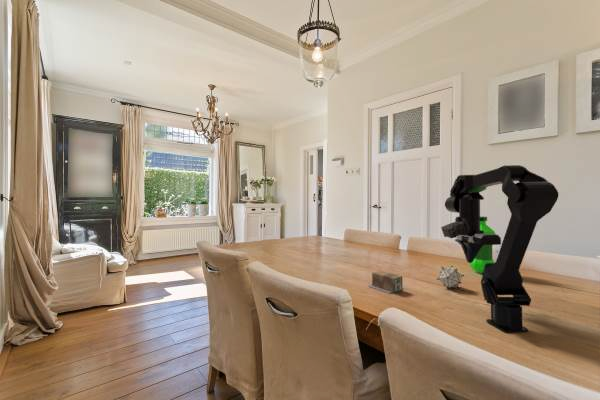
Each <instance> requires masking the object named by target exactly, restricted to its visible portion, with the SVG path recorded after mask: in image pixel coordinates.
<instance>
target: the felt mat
mask: <svg viewBox="0 0 600 400" xmlns="http://www.w3.org/2000/svg"><path fill="white" fill-rule="evenodd" d="M368 287H369V288H371V289H373V290H377V291H380V292H383V293H387V294H390V295H391V294H393V293H395V292H390V291H387V290H384V289H381V288H378V287H375V286H372V284H370V285H368Z"/></svg>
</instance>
